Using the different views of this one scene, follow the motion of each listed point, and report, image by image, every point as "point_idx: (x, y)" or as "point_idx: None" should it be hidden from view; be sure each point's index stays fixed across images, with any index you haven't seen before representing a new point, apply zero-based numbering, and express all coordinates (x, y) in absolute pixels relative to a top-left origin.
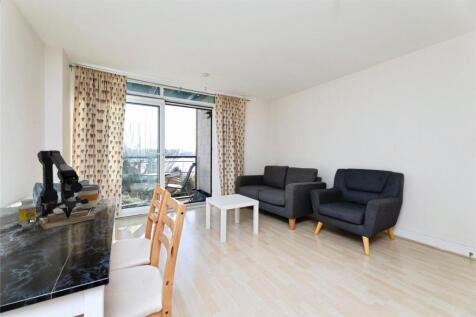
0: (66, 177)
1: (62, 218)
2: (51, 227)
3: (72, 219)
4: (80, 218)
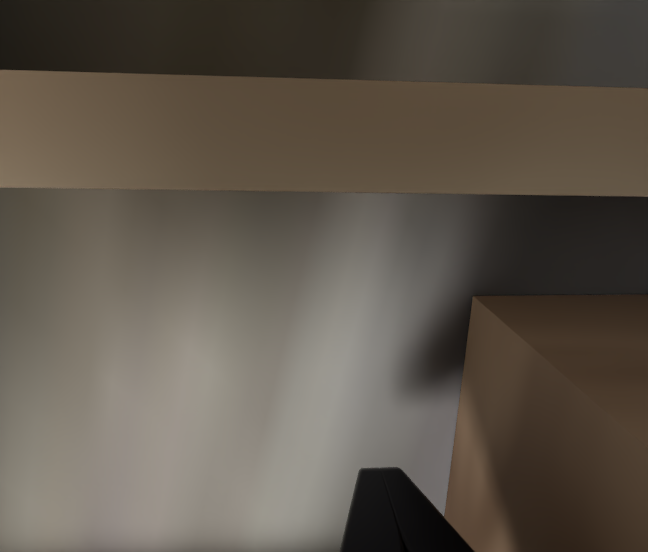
0: None
1: (638, 374)
2: None
3: (367, 84)
4: (62, 76)
